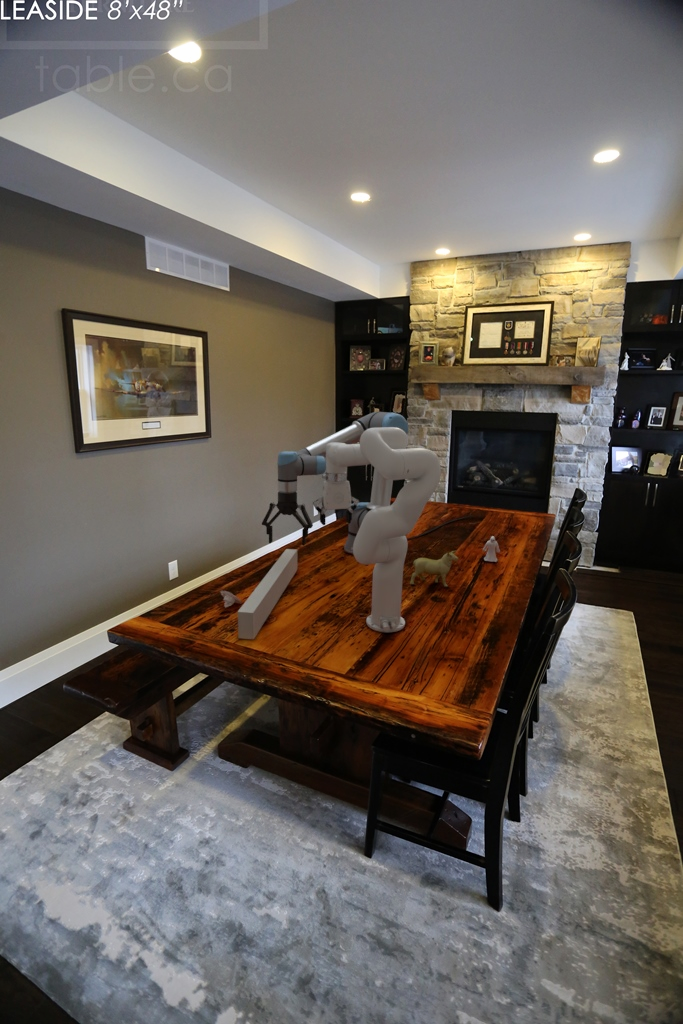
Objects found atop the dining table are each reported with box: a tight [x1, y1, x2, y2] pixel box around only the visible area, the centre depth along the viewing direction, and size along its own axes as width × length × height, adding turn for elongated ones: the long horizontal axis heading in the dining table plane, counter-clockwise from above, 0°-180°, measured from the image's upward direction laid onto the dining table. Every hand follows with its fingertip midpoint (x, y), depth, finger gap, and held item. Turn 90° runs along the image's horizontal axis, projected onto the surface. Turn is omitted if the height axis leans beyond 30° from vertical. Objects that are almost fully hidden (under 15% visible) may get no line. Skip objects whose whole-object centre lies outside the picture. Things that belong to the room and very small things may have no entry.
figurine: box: [482, 535, 501, 563], centre depth 223 cm, size 8×8×12 cm
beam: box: [237, 548, 298, 640], centre depth 180 cm, size 61×5×9 cm, turn 172°
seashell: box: [219, 590, 242, 609], centre depth 173 cm, size 8×5×8 cm
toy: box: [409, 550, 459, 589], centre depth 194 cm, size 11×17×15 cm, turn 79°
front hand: (335, 523), depth 183 cm, fingers open, 9 cm apart
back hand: (287, 543), depth 200 cm, fingers open, 13 cm apart
